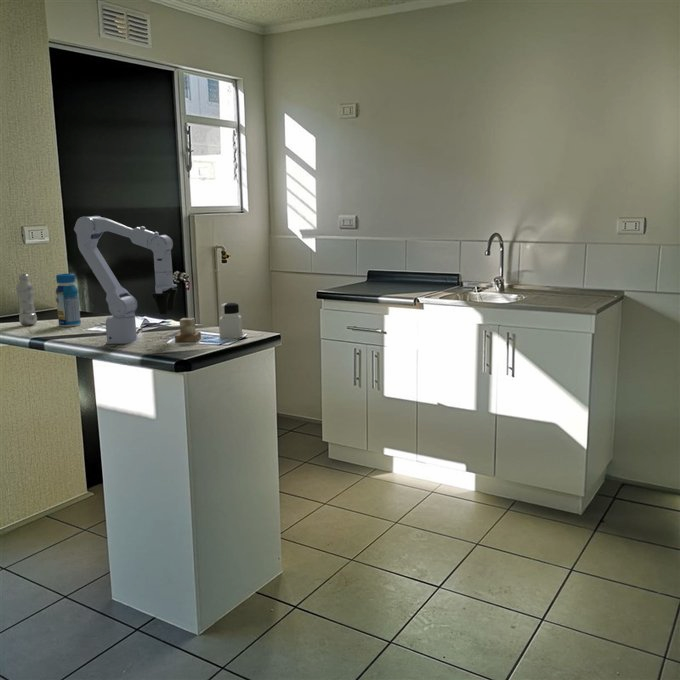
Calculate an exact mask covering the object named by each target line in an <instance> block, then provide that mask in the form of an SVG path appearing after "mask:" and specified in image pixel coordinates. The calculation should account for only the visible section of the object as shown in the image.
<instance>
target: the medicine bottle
mask: <svg viewBox="0 0 680 680" xmlns="http://www.w3.org/2000/svg"><path fill="white" fill-rule="evenodd" d="M239 307H240V306H239V304H238V303H236V302H225V303H222V304H221V305H220V311H221V312H220V315H221V316H220V318H219V319H218V328H219V329H218V331H219V338H224V339H226V338H229V339H230V338H241V337H242V335H243V321H242V319H243V318H242V315H240V308H239Z"/></svg>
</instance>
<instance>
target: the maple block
mask: <svg viewBox="0 0 680 680" xmlns="http://www.w3.org/2000/svg"><path fill="white" fill-rule="evenodd" d="M195 319H196V317H182V318H180V319H179V328H180V329H179V332H180V333H181V335H192V334H194V333H195V332H196V320H195Z"/></svg>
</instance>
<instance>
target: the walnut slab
mask: <svg viewBox="0 0 680 680" xmlns="http://www.w3.org/2000/svg"><path fill="white" fill-rule="evenodd" d="M201 332H202V331H195V333H194V334H192V335H181V333H180V331H179V332H178V333H176V334H175V335H174V339H175V343H196V342H197V341H198V340H200V339H201V337H202V334H201Z"/></svg>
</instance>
